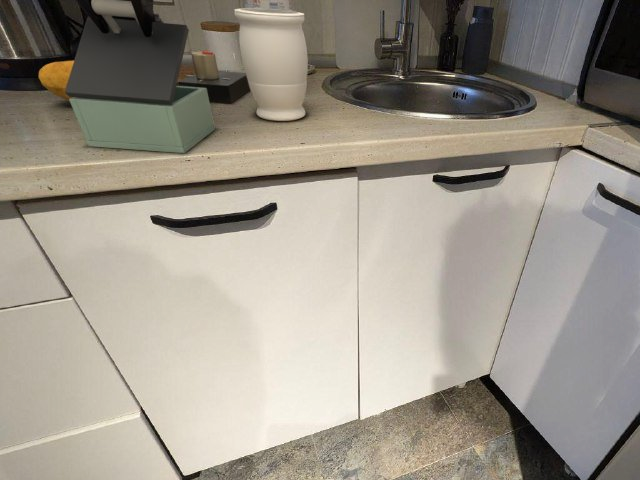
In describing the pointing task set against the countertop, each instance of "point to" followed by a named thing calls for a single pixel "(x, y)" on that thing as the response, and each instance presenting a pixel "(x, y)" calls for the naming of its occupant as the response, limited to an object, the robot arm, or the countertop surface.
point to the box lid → (127, 58)
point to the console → (221, 86)
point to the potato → (56, 77)
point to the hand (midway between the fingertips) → (127, 34)
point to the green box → (147, 122)
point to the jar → (274, 60)
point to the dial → (205, 65)
